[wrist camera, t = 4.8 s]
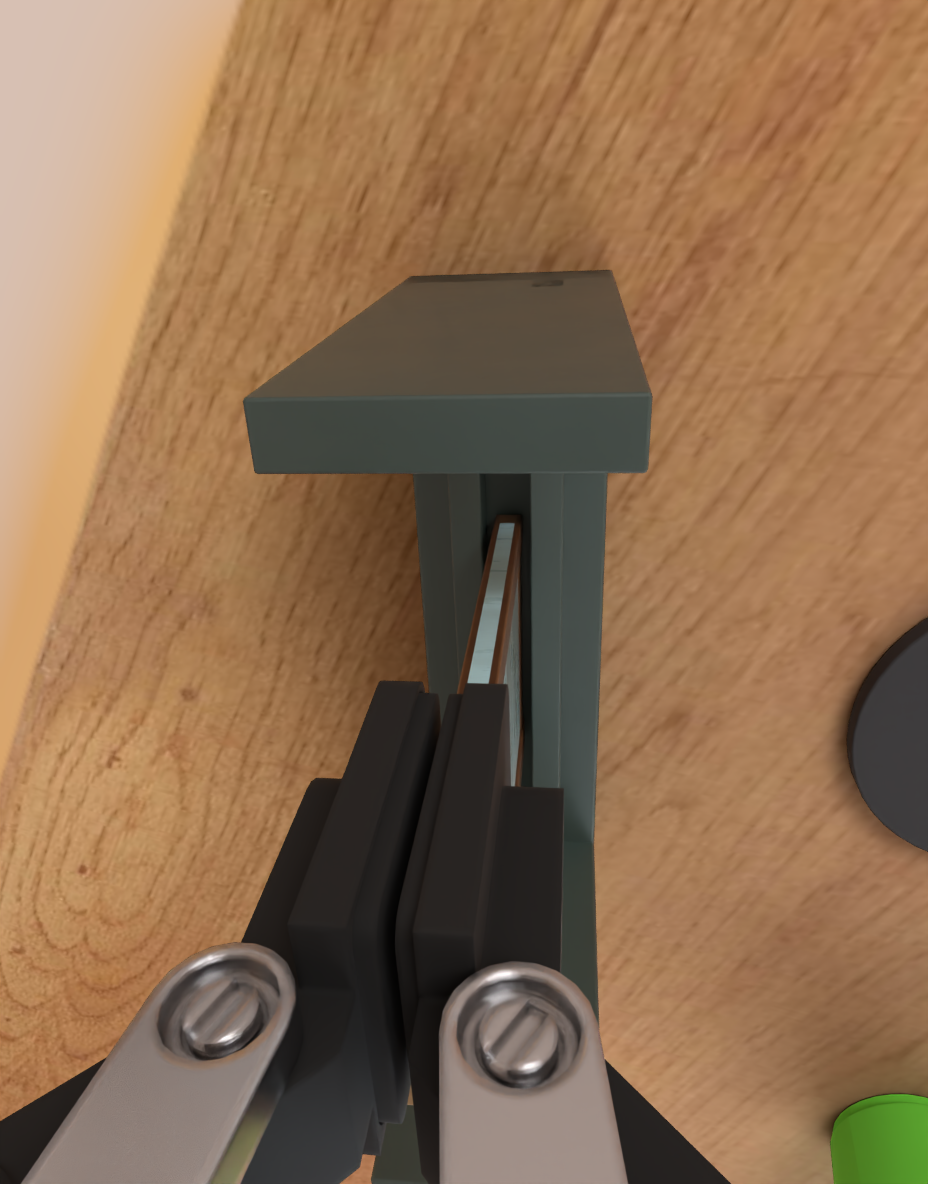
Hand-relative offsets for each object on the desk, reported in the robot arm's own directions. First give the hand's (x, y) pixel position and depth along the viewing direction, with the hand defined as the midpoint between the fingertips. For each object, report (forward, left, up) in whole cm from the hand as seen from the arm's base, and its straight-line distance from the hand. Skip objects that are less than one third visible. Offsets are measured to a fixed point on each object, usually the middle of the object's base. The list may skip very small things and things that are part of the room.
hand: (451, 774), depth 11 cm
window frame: (+4, 0, -13) cm, 14 cm away
